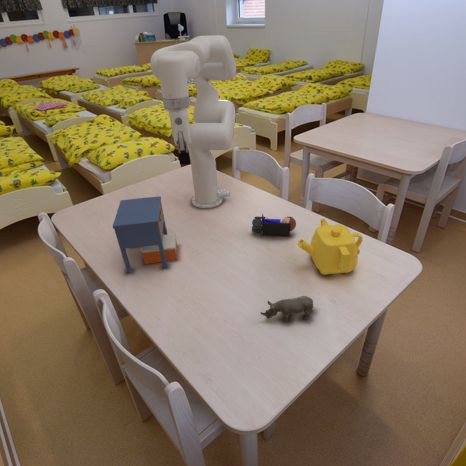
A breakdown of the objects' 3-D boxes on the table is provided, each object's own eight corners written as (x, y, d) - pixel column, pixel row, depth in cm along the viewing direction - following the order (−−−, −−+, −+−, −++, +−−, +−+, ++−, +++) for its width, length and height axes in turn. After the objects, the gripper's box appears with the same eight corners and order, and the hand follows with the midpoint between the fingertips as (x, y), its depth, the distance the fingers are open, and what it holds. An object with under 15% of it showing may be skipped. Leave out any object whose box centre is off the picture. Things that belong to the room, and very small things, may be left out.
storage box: (177, 246, 113) (175, 233, 110) (177, 260, 106) (175, 247, 103) (146, 249, 112) (143, 237, 109) (144, 264, 105) (141, 251, 102)
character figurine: (252, 228, 120) (295, 231, 118) (250, 239, 114) (295, 241, 111) (252, 209, 116) (296, 210, 114) (250, 218, 110) (296, 220, 108)
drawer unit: (169, 240, 116) (160, 196, 106) (167, 268, 103) (157, 221, 94) (132, 244, 115) (120, 200, 105) (126, 273, 102) (112, 226, 92)
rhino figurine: (258, 314, 86) (258, 297, 83) (311, 307, 87) (312, 290, 84) (261, 326, 83) (261, 309, 79) (316, 319, 84) (318, 302, 80)
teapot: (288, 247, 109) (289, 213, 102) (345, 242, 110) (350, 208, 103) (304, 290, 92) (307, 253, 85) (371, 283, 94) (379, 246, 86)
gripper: (190, 108, 91) (197, 171, 101) (189, 96, 103) (196, 154, 113) (162, 110, 90) (172, 173, 100) (164, 98, 103) (173, 156, 113)
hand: (185, 163), depth 107 cm, fingers closed
